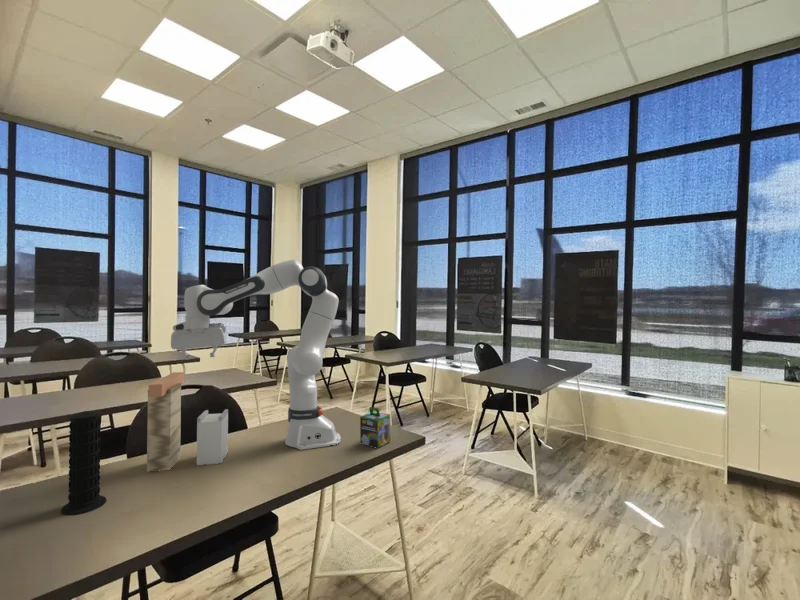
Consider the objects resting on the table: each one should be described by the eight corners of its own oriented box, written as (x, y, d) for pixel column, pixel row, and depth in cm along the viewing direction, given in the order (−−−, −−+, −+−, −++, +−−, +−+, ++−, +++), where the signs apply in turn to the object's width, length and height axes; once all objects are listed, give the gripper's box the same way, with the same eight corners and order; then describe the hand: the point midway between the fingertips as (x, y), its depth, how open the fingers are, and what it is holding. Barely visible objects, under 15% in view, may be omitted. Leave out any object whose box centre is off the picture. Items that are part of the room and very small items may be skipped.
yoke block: (227, 452, 147) (228, 409, 147) (221, 463, 138) (221, 416, 138) (204, 454, 146) (205, 410, 146) (196, 465, 136) (197, 418, 136)
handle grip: (50, 514, 104) (87, 515, 104) (51, 416, 104) (88, 416, 104) (81, 496, 114) (115, 496, 114) (82, 405, 114) (116, 406, 114)
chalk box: (390, 442, 160) (391, 406, 160) (377, 449, 153) (378, 411, 153) (372, 437, 165) (373, 402, 165) (359, 444, 158) (359, 407, 158)
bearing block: (180, 458, 141) (181, 383, 141) (169, 470, 131) (170, 389, 132) (158, 460, 140) (159, 383, 140) (146, 472, 130) (147, 390, 130)
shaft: (184, 382, 149) (184, 372, 149) (161, 396, 128) (162, 384, 128) (173, 382, 148) (173, 372, 148) (148, 396, 127) (148, 384, 127)
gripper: (226, 322, 165) (229, 354, 164) (173, 326, 160) (175, 360, 160) (223, 322, 158) (225, 356, 158) (168, 326, 154) (170, 361, 154)
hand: (200, 358), depth 159 cm, fingers open, 8 cm apart
